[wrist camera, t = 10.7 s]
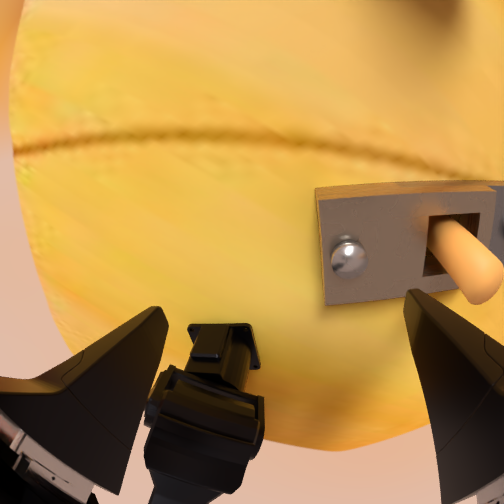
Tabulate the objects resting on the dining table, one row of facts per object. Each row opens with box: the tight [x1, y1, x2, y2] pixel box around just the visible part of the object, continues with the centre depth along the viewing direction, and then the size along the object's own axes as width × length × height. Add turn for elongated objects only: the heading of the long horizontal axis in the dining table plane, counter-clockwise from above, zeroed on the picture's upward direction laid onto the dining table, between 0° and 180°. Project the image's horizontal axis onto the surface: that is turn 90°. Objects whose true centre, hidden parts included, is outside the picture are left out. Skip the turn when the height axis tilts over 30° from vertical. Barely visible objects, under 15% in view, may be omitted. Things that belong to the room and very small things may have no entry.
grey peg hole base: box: [394, 181, 504, 267], centre depth 17 cm, size 8×14×2 cm, turn 100°
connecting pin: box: [426, 215, 504, 305], centre depth 15 cm, size 3×3×8 cm
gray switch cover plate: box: [315, 182, 497, 305], centre depth 18 cm, size 8×14×4 cm, turn 100°
